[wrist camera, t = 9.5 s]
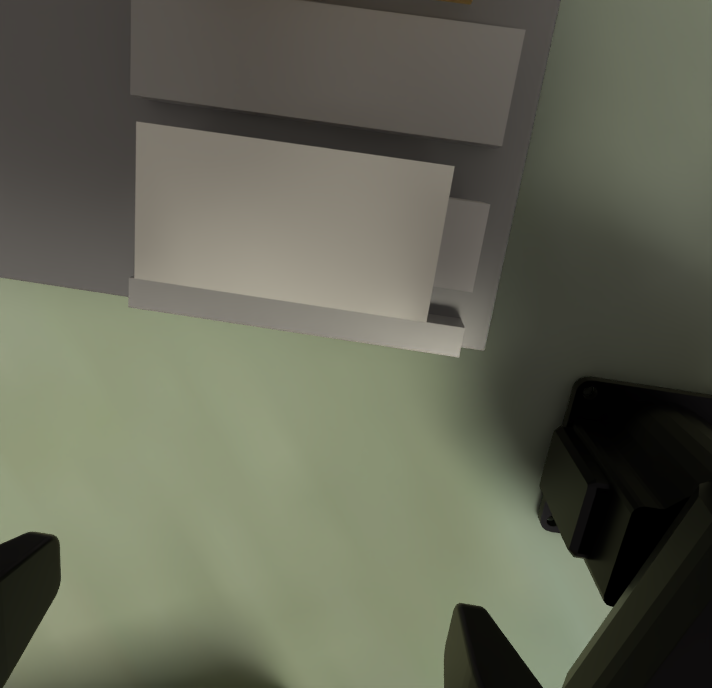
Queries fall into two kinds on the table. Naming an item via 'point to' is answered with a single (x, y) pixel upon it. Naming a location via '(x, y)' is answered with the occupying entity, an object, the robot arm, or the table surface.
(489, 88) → the organiser
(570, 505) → the robot arm
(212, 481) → the table surface
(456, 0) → the amber plug
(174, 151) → the grey plug
